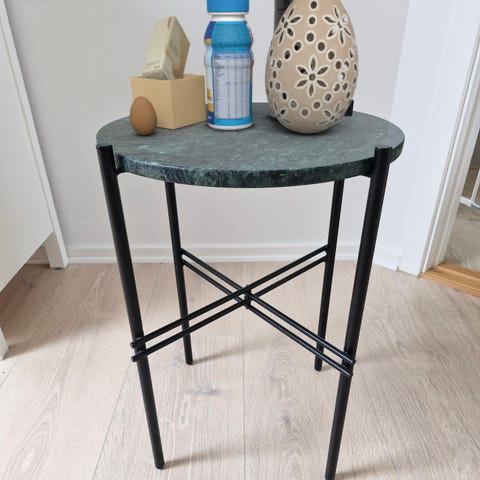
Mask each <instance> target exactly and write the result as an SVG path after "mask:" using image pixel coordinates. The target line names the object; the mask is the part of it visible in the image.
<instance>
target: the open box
mask: <svg viewBox="0 0 480 480" xmlns="http://www.w3.org/2000/svg"><path fill="white" fill-rule="evenodd" d="M129 79H130V87H131V92H132V93H131V95H132V102H133V101H134V100H135V99H136V98H137V97H139V96H143V97H145V98H147V99H148V100H149V101H150V103H151V104H152V106H153V107H154V109H155V112H156V115H157V125H156V127H157V128H163V129H169V130H176V129H181V128H184V127H188V126H191V125H194V124H198V123H201V122H205V121H207V103H206V102H207V98H206V76H205V75H204V74H194V73H193V74H192V73H183V78H182V79H176V80H170V81H168V80H157V79H147V78H144V76H143V75H138V76H131V77H130V78H129Z"/></svg>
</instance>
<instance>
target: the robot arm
mask: <svg viewBox="0 0 480 480" xmlns="http://www.w3.org/2000/svg"><path fill="white" fill-rule="evenodd" d="M292 1H293V0H273V32H272V33H273V35H274V32H275V30H276V28H277V26H278V23H279V21H280V19H281V18H282V16H283V14H284V12H285V11H286V9H287V8H288V7H289V5H290V4H291V3H292ZM314 7H315V8H316V7H317V3H316V2H315V4H314ZM300 18H301V17H299V18H298V19H297V21H298V20H299V19H300ZM288 19H289V16H288ZM314 21H315V17H314ZM294 22H295V21H293V20H292V21H291V22H290V23H294ZM286 27H287V26H285V27H284V28H286ZM283 32H284V30H283ZM283 32H282V33H283ZM288 34H289V35H291V29H289V31H288ZM273 35H272V36H273ZM313 35H314V34H313ZM306 38H307V37H306ZM307 41H309V40H308V38H307ZM294 49H295V50H296V51H298V49H299V47H298V45H294ZM289 57H290V54H287V55H286V57H285V59H288V58H289ZM273 61H274V60H272V62H273ZM278 61H281V60H278ZM314 64H316V63H314ZM281 66H282V65H281ZM312 67H313V65H312V63H311V69H312ZM305 71H306V70H305V69H301V70H300V72H301V73H302V74H303V73H304V72H305ZM317 74H318V75H321V74H322V73H321V71H320V70H319V71H318V73H317ZM309 80H311V74H310V75H309ZM275 87H276V84H275ZM310 96H312V95H310ZM283 98H284V100H286V93H285V92H283ZM329 100H330V98H328V101H329ZM292 103H294V101H292V102H291V103H290V104H292ZM338 107H339V106H338ZM336 108H337V107H336ZM284 111H285V109H284V110H282V111H281V114H283V113H284ZM269 112H270V114H269V115H270V118H271V119H273V120H275V121H276V120H277V119H276V117H275V116H274V114H273V112H272V110H271V109H270V111H269ZM277 121H278V120H277Z"/></svg>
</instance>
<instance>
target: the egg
mask: <svg viewBox="0 0 480 480" xmlns="http://www.w3.org/2000/svg"><path fill="white" fill-rule="evenodd" d="M129 123H130V126H131V127H132V129H133V130H134V132H136V133H137V134H138V135H139V136H144V137H146V136H147V137H148V136H149V135H151V134H152V133H153V132H154V131H155V129H157V128H156V125H157V115H156V112H155V109H154V107H153V106H152V104H151V103H150V101H149V100H148V99H147V98H145V97H143V96H139V97H137V98H136V99H135V100H134V101H133V100H132V103H131V106H130V109H129Z"/></svg>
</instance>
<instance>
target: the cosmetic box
mask: <svg viewBox="0 0 480 480" xmlns="http://www.w3.org/2000/svg"><path fill="white" fill-rule="evenodd" d="M190 47H191V42H190V41H189V38H188V37H187V35H186V33H185V30H184V28H183V26H182V25H181V23H180V21H179V19H178V18H177V16H175V15H172V16H168V17H165V18H160V19H158V20H155V22H154V26H153V30H152V32H151V37H150V40H149V44H148V49H147V51H146V56H145V60H144V63H143V66H142V72H141V76H144V78H147V79H157V80H168V81H170V80H176V79H182V78H183V74H185V68H186V66H187V65H186V64H187V61H188V55H189V52H190Z"/></svg>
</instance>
